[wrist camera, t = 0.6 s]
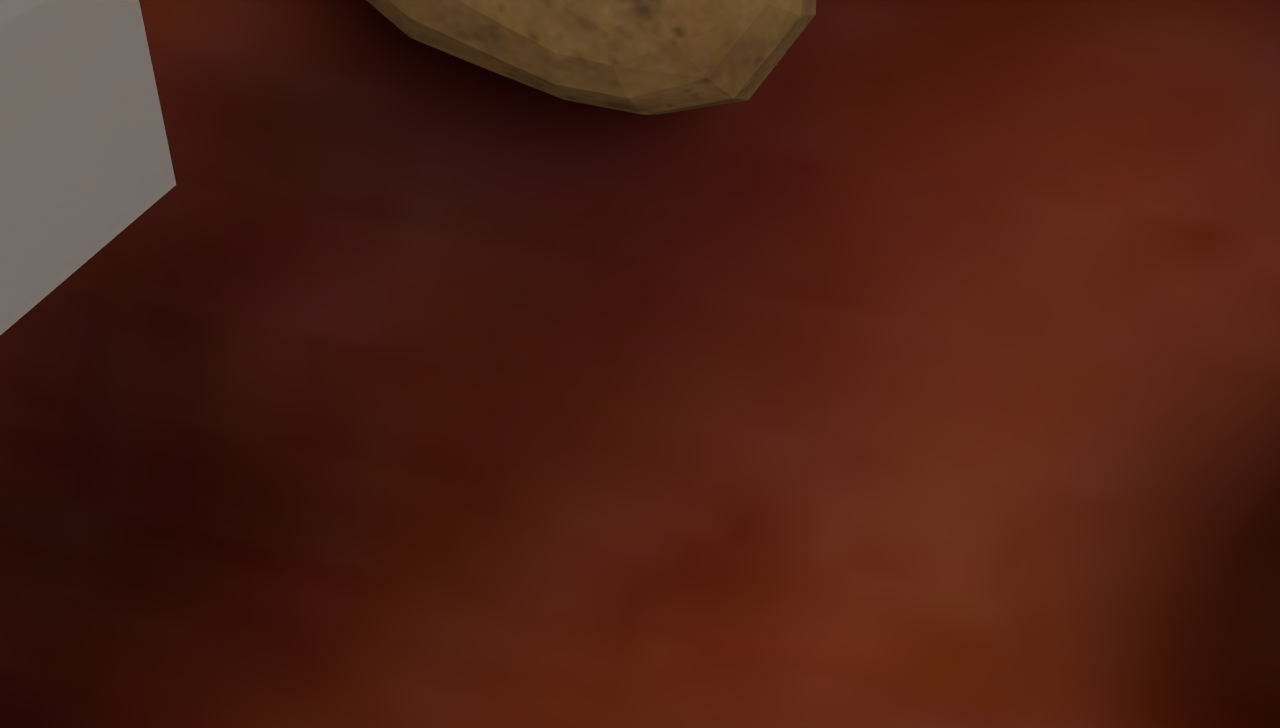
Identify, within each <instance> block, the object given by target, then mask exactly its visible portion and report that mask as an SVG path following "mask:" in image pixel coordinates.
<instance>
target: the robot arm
mask: <svg viewBox="0 0 1280 728" xmlns="http://www.w3.org/2000/svg"><path fill="white" fill-rule="evenodd" d="M175 185H176V182H175V177H174V172H173V167H172V162H171V157H170V152H169V147H168V142H167V137H166V132H165V127H164V122H163V117H162V112H161V107H160V102H159V97H158V92H157V87H156V83H155V78H154V73H153V68H152V63H151V58H150V53H149V48H148V43H147V38H146V33H145V28H144V23H143V18H142V13H141V8H140V3H139V0H0V335H1V334H2V333H4V332H5V331H6V330H7V329H8V328H9V327H11V326H12V325H13V324H14V323H15V322H16V321H18V320H19V319H20V318H21V317H22V316H23V315H25V314H26V313H27V312H28V311H29V310H30V309H32V308H33V307H34V306H35V305H36V304H37V303H39V302H40V301H41V300H42V299H43V298H44V297H46V296H47V295H48V294H49V293H50V292H51V291H53V290H54V289H55V288H56V287H57V286H58V285H60V284H61V283H62V282H63V281H64V280H66V279H67V278H68V277H69V276H70V275H71V274H73V273H74V272H75V271H76V270H77V269H78V268H80V267H81V266H82V265H83V264H84V263H85V262H87V261H88V260H89V259H90V258H91V257H92V256H94V255H95V254H96V253H97V252H98V251H99V250H101V249H102V248H103V247H104V246H105V245H106V244H108V243H109V242H110V241H111V240H112V239H113V238H115V237H116V236H117V235H118V234H119V233H120V232H122V231H123V230H124V229H125V228H126V227H127V226H129V225H130V224H131V223H132V222H133V221H134V220H136V219H137V218H138V217H139V216H140V215H141V214H143V213H144V212H145V211H146V210H147V209H148V208H150V207H151V206H152V205H153V204H154V203H155V202H157V201H158V200H159V199H160V198H161V197H162V196H164V195H165V194H166V193H167V192H168V191H169V190H171V189H172V188H173V187H174V186H175Z"/></svg>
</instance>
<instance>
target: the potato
mask: <svg viewBox="0 0 1280 728" xmlns="http://www.w3.org/2000/svg"><path fill="white" fill-rule="evenodd" d="M366 1H367V2H369V3H370V4H371V5H372V6H373V7H375V8H376V9H377V10H378V11H379V12H380V13H382V14H383V15H384V16H385V17H386V18H387V19H389V20H390V21H391V22H392V23H393V24H395V25H396V26H397V27H398V28H399V29H400V30H402V31H403V32H404V33H405V34H406V35H407V36H409V37H410V38H412V39H414V40H417V41H419V42H422V43H424V44H426V45H429V46H431V47H434V48H436V49H439V50H441V51H444V52H446V53H448V54H451V55H453V56H456V57H458V58H461V59H463V60H465V61H468V62H470V63H473V64H475V65H478V66H480V67H482V68H485V69H487V70H490V71H492V72H495V73H498V74H500V75H503V76H505V77H508V78H510V79H513V80H515V81H518V82H520V83H523V84H525V85H528V86H531V87H533V88H536V89H538V90H541V91H543V92H546V93H548V94H551V95H553V96H556V97H558V98H561V99H564V100H568V101H573V102H579V103H584V104H589V105H594V106H600V107H605V108H610V109H615V110H621V111H626V112H631V113H637V114H642V115H659V114H665V113H672V112H678V111H684V110H691V109H697V108H703V107H710V106H716V105H722V104H728V103H735V102H741V101H747V100H749V99H750V97H751V96H752V95H753V94H754V92H755V91H756V90H757V89H758V87H759V86H760V85H761V83H762V82H763V81H764V80H765V78H766V77H767V76H768V75H769V73H770V72H771V71H772V69H773V68H774V67H775V66H776V64H777V63H778V62H779V60H780V59H781V58H782V57H783V55H784V54H785V53H786V52H787V50H788V49H789V48H790V46H791V45H792V44H793V43H794V41H795V40H796V39H797V37H798V36H799V35H800V34H801V32H802V31H803V30H804V29H805V27H806V26H807V25H808V23H809V22H810V21H811V20H812V18H813V17H814V16H815V14H816V0H366Z"/></svg>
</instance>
